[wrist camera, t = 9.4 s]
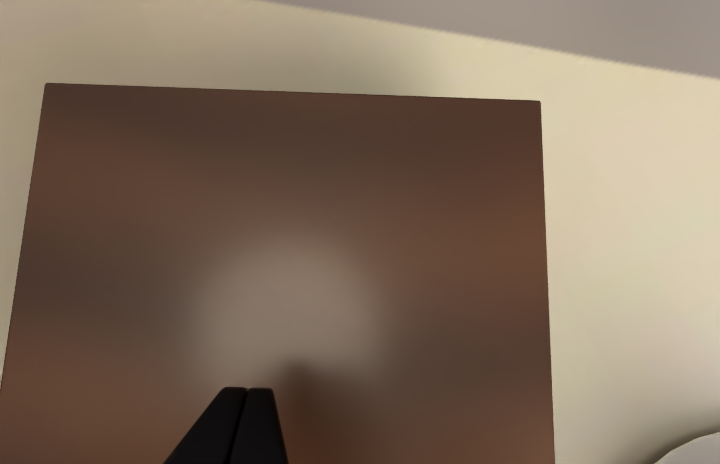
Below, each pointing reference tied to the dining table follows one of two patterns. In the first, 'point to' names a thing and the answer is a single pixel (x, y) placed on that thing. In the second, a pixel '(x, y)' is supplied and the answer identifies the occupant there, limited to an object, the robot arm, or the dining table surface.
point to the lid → (282, 276)
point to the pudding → (695, 452)
